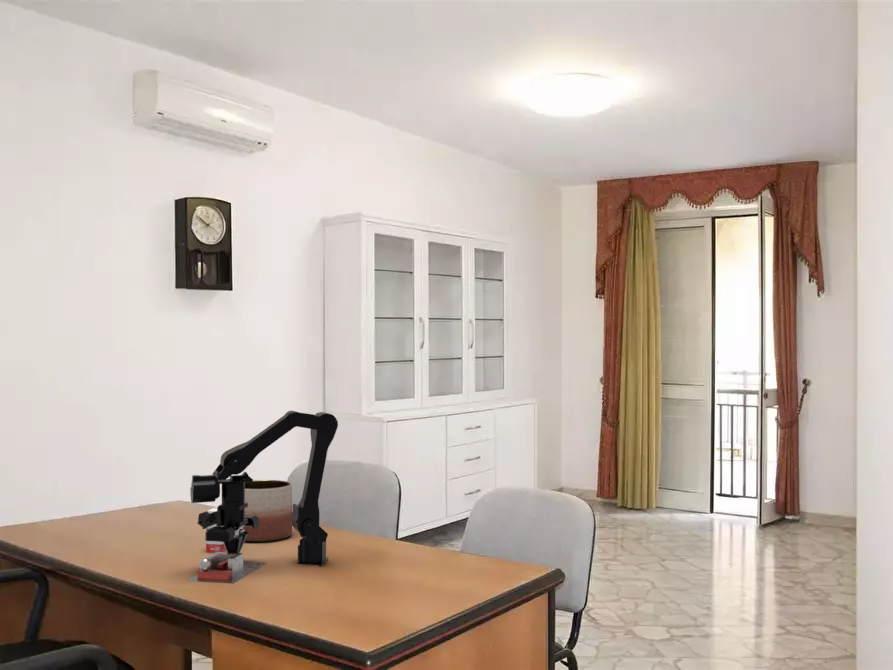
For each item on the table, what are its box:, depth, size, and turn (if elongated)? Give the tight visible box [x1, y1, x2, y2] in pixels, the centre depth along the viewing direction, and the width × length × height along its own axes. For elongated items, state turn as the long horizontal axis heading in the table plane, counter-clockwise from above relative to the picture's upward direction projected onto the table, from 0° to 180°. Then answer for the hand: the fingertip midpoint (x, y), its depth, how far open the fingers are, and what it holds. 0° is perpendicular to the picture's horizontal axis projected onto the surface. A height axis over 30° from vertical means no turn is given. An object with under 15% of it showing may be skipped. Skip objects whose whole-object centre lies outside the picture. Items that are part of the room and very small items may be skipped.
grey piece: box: [186, 557, 268, 585], centre depth 212 cm, size 12×20×6 cm, turn 169°
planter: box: [243, 479, 293, 543], centre depth 254 cm, size 18×18×16 cm
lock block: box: [205, 551, 244, 578], centre depth 210 cm, size 7×6×4 cm
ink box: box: [205, 506, 227, 554], centre depth 237 cm, size 9×5×12 cm, turn 168°
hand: (233, 561), depth 215 cm, fingers closed
